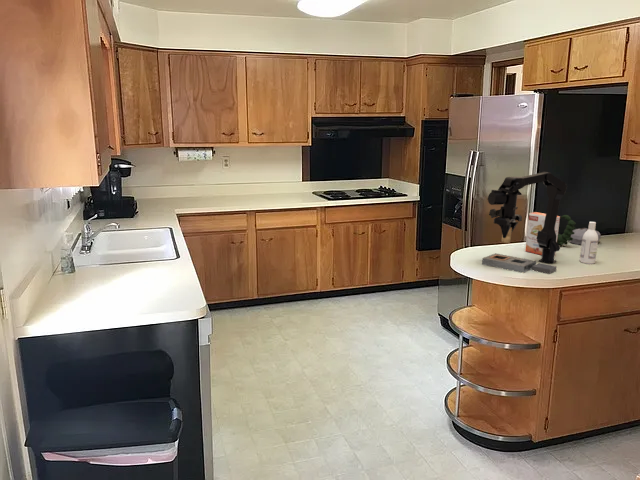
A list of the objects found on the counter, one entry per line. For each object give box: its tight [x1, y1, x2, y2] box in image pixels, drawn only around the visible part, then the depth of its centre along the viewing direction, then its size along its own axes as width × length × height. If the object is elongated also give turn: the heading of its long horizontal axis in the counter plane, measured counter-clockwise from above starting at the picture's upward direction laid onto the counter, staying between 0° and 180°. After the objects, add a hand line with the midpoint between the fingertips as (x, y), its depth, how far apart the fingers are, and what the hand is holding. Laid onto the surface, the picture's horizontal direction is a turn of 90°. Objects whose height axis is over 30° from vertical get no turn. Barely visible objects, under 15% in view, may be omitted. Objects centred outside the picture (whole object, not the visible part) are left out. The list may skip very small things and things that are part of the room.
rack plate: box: [481, 253, 537, 273], centre depth 246 cm, size 14×20×3 cm
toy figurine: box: [557, 214, 577, 246], centre depth 294 cm, size 9×19×25 cm
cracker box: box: [524, 211, 561, 256], centre depth 269 cm, size 14×6×21 cm, turn 35°
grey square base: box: [531, 262, 557, 275], centre depth 239 cm, size 8×8×2 cm
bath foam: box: [579, 221, 599, 265], centre depth 254 cm, size 7×7×20 cm
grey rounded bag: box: [568, 227, 602, 245], centre depth 300 cm, size 15×8×20 cm
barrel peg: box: [500, 227, 513, 244], centre depth 245 cm, size 4×4×7 cm
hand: (506, 237), depth 245 cm, fingers closed on barrel peg, 4 cm apart
